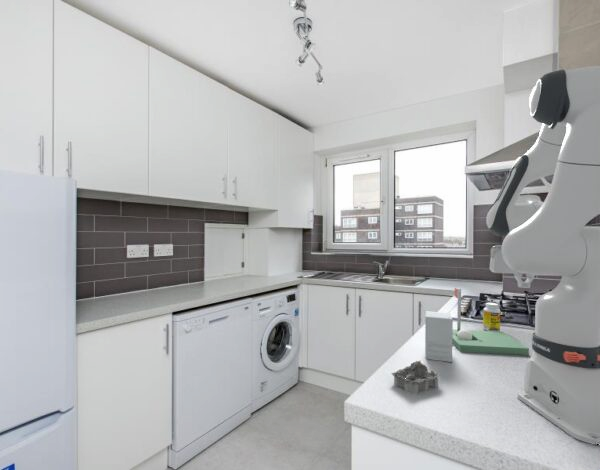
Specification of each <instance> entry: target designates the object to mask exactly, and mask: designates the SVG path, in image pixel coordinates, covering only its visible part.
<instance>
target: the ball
mask: <svg viewBox="0 0 600 470" xmlns="http://www.w3.org/2000/svg"><path fill="white" fill-rule="evenodd" d="M468 330H469V329H465V328H463V329H460V331H459V332H458V334H457V337H458V338H459V339H463V340H472V334H471V333H470V332H469V331H468Z"/></svg>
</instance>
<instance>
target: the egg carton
mask: <svg viewBox="0 0 600 470" xmlns="http://www.w3.org/2000/svg"><path fill="white" fill-rule="evenodd" d="M390 374H391V375H392V376H393V379H394V383H393V384H394V386H395V387H401V386H403V387H402V388H404V387H405V388H404V389H403V390H404V392H405V391H406V392H405V393H407V392H412V394H414V393H415V394H414V395H416V393H417V394H418V393H419V390H422V391H424V392H427V391H428V390H429V387H432V386H433V388H438V387H439V380H438V379H439V378H438V377H442V375H441V374H439V372H434V370H430V371H429V370H428V367H427V365H425V364H423V363H422V361H421V360H416V361H414V362H411V363H410V365H408V366H405V367H404V368H401V369H398V370H397V371H394V372H391V373H390ZM415 375H416V376H415ZM417 376H418V377H424V378H417ZM405 378H406V379H405Z"/></svg>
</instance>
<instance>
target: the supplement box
mask: <svg viewBox="0 0 600 470" xmlns="http://www.w3.org/2000/svg"><path fill="white" fill-rule="evenodd" d="M424 321H425V322H424V323H425V325H424V326H425V327H424V328H425V333H424V335H425V338H424V339H425V342H424V343H425V345H424V350H425V351H424V352H425V359H427V360H435V361H441V362H449V363H452V362H453V344H452V331H453V330H454V329H453V326H454V325H453V322H454V320H453V317H452V314H451V312H442V311H441V312H440V311H438V312H437V311H431V310H430V311H429V310H426V311H425V319H424Z"/></svg>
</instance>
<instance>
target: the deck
mask: <svg viewBox="0 0 600 470" xmlns="http://www.w3.org/2000/svg"><path fill="white" fill-rule="evenodd" d="M454 297H455V298H457V323H456V325H457V326H456V329H453V331H452V346H454V347H455V348H456V350H458V351H459V352H463V353H464V352H466V353H468V352H470V353H485V354H500V355H501V354H504V355H520V356H521V355H522V356H523V355H524V356H529V355H530V353H529V351H530V350H529V349H530V348H529V347H527V346H526V345H524V344H523V343H520V342H519V341H518V340H517V339H514V338H513V337H512V336H510V335H508V334H507V333H505V332H504V331H499V332H495V331H486V330H471V329H467V330H468V331H469V332H470V333H471V334H472V340H463V339H459V338H458V337H457V334H458V332H459V331H460V330H461V319H462V317H461V314H462V288H457V287H454Z"/></svg>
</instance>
